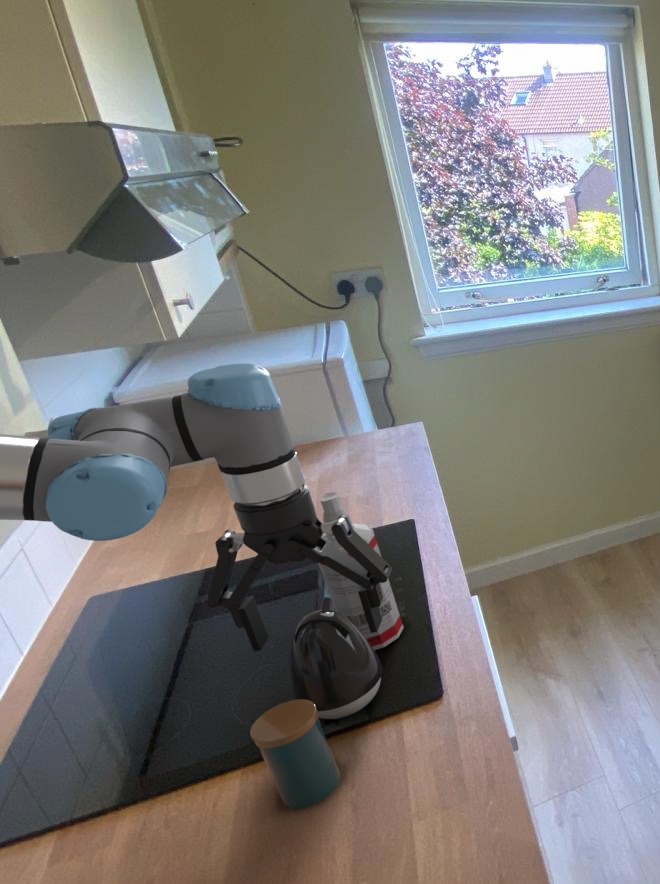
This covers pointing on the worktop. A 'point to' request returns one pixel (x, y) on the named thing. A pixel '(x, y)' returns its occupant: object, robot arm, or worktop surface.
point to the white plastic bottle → (347, 590)
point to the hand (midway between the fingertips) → (320, 635)
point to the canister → (296, 752)
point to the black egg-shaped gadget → (333, 664)
